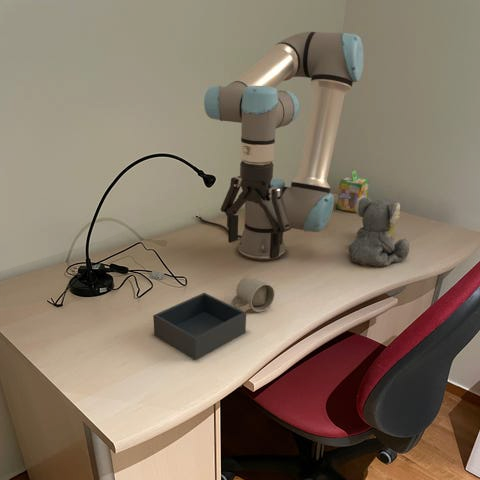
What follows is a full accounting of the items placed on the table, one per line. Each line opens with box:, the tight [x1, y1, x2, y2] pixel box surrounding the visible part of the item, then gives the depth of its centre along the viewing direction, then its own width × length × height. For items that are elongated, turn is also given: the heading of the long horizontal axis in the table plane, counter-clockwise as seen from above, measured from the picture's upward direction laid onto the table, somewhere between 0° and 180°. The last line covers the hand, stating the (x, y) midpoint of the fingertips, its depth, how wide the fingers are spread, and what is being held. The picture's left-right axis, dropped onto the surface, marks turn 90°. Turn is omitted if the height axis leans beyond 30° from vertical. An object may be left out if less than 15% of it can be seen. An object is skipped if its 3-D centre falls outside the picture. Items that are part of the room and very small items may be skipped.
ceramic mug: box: [229, 275, 275, 313], centre depth 134 cm, size 11×8×8 cm
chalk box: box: [336, 169, 370, 213], centre depth 205 cm, size 9×9×15 cm
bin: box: [152, 292, 247, 361], centre depth 123 cm, size 14×16×6 cm
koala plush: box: [347, 196, 410, 267], centre depth 161 cm, size 17×18×20 cm
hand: (253, 248), depth 128 cm, fingers open, 13 cm apart
